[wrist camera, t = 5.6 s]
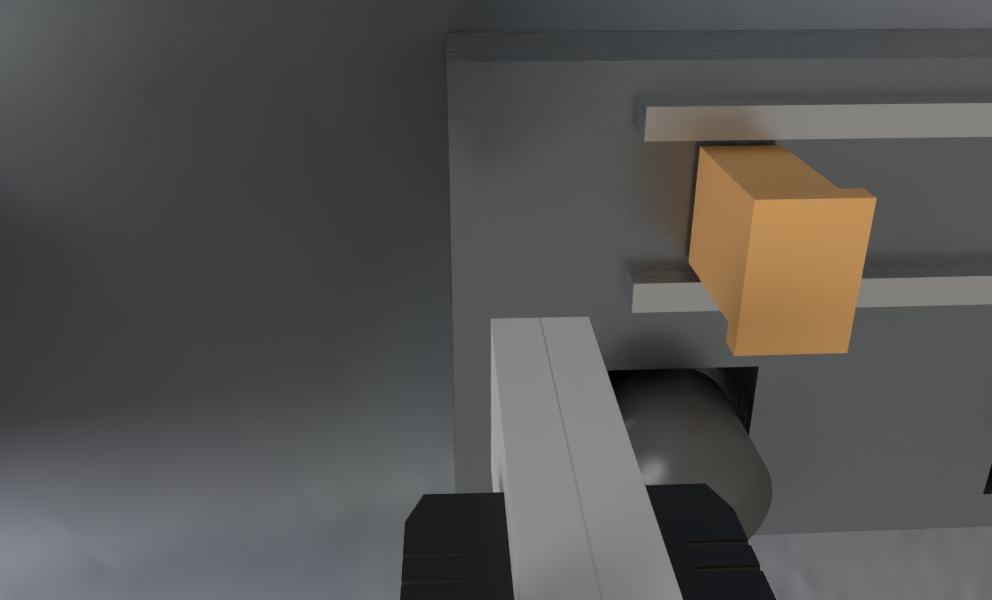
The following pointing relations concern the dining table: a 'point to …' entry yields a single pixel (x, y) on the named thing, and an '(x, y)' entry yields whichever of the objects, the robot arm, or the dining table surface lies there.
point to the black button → (694, 439)
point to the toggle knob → (778, 249)
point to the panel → (667, 235)
